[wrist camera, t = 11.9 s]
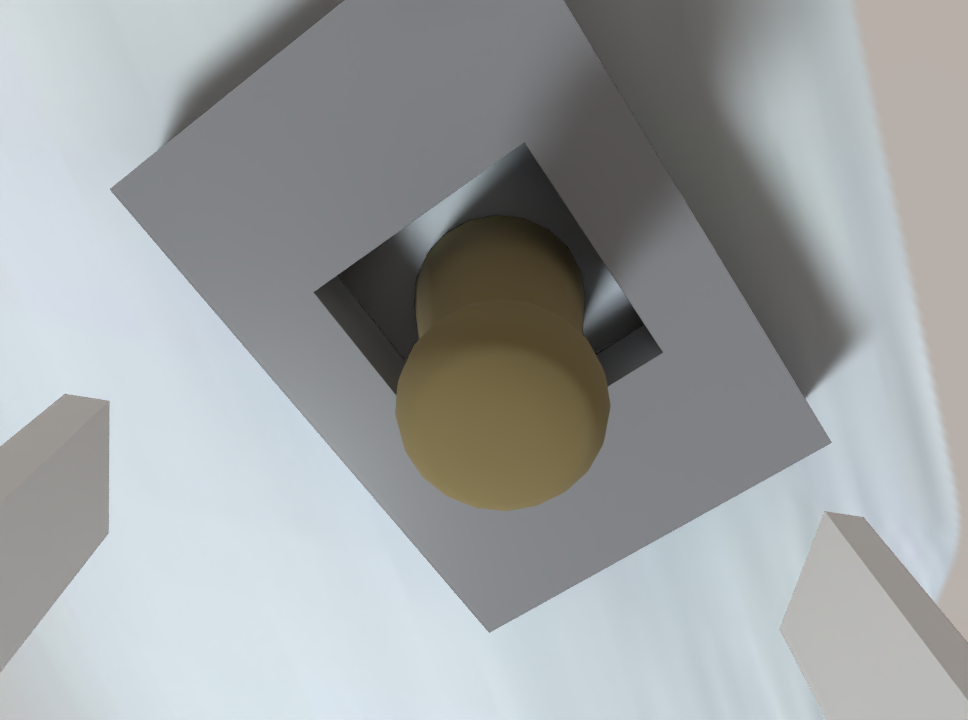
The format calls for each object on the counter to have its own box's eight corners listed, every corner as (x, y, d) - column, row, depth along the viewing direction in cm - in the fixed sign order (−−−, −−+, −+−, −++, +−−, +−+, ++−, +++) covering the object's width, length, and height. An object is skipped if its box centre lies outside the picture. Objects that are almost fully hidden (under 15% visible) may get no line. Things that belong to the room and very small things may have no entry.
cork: (486, 410, 29) (481, 595, 19) (379, 286, 28) (312, 416, 18) (618, 313, 28) (691, 457, 18) (514, 178, 26) (528, 249, 16)
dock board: (150, 175, 27) (109, 189, 24) (492, -99, 24) (492, -119, 21) (489, 582, 32) (489, 632, 30) (799, 405, 29) (831, 442, 27)
